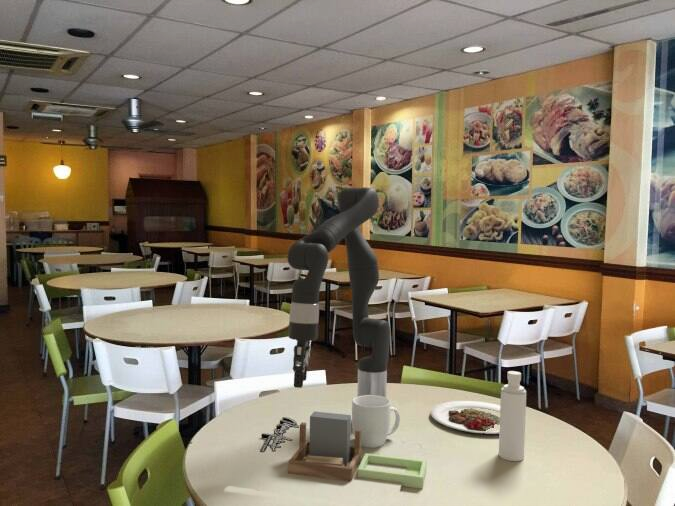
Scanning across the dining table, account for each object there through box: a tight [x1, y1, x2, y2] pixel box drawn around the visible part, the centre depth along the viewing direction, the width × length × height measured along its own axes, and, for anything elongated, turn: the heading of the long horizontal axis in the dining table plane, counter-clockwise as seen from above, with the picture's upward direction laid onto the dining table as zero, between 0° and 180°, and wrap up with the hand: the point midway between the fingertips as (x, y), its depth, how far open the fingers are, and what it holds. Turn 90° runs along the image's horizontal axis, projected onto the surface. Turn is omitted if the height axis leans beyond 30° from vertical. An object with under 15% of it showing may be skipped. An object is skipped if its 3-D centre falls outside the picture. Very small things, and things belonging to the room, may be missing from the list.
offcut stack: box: [305, 455, 344, 466], centre depth 140 cm, size 4×10×3 cm, turn 76°
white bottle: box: [498, 370, 527, 462], centre depth 153 cm, size 7×7×25 cm
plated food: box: [430, 400, 500, 435], centre depth 182 cm, size 30×30×3 cm
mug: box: [351, 395, 401, 449], centre depth 160 cm, size 15×11×13 cm
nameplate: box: [259, 416, 300, 453], centre depth 165 cm, size 28×2×10 cm
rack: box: [288, 422, 364, 482], centre depth 144 cm, size 14×16×10 cm
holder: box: [357, 452, 427, 490], centre depth 141 cm, size 10×16×3 cm, turn 76°
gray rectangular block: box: [309, 410, 352, 466], centre depth 146 cm, size 4×10×12 cm, turn 76°
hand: (300, 383), depth 143 cm, fingers open, 8 cm apart
